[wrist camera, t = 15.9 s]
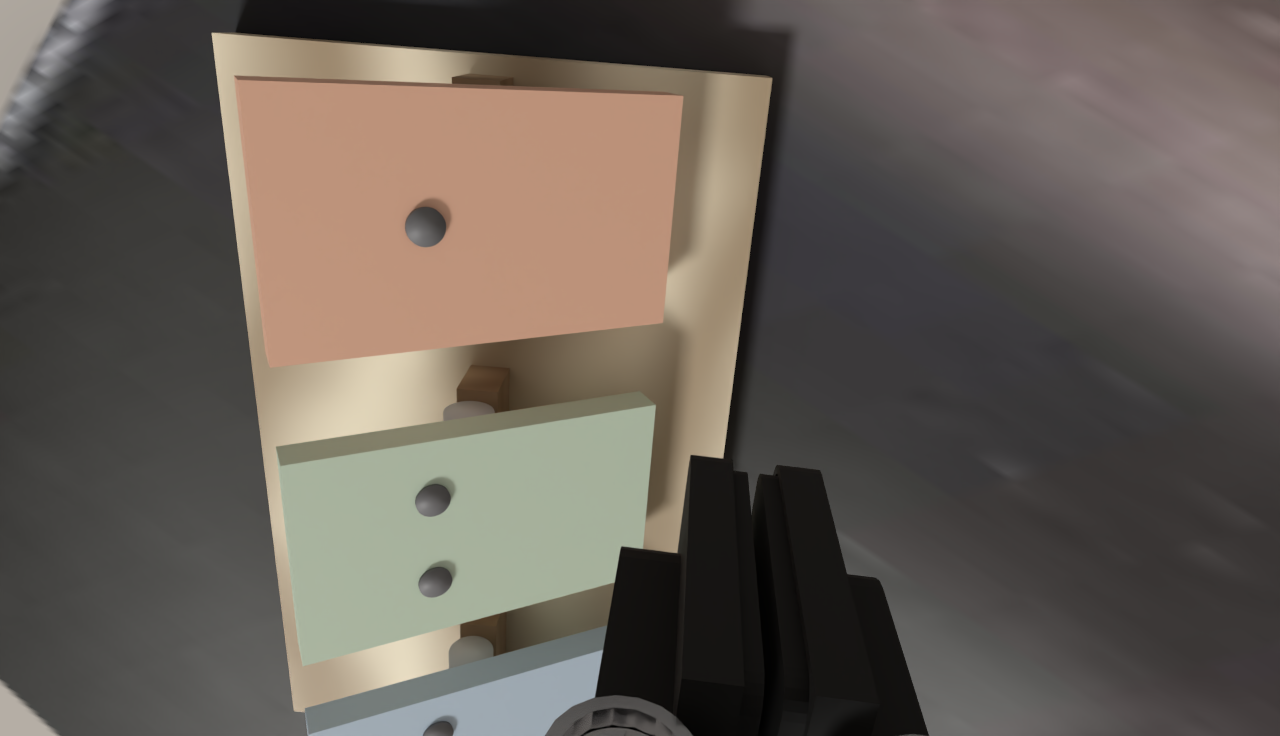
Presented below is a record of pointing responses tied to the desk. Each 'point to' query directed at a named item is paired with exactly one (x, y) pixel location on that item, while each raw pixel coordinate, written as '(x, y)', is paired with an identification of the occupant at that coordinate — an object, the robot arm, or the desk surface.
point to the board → (525, 368)
